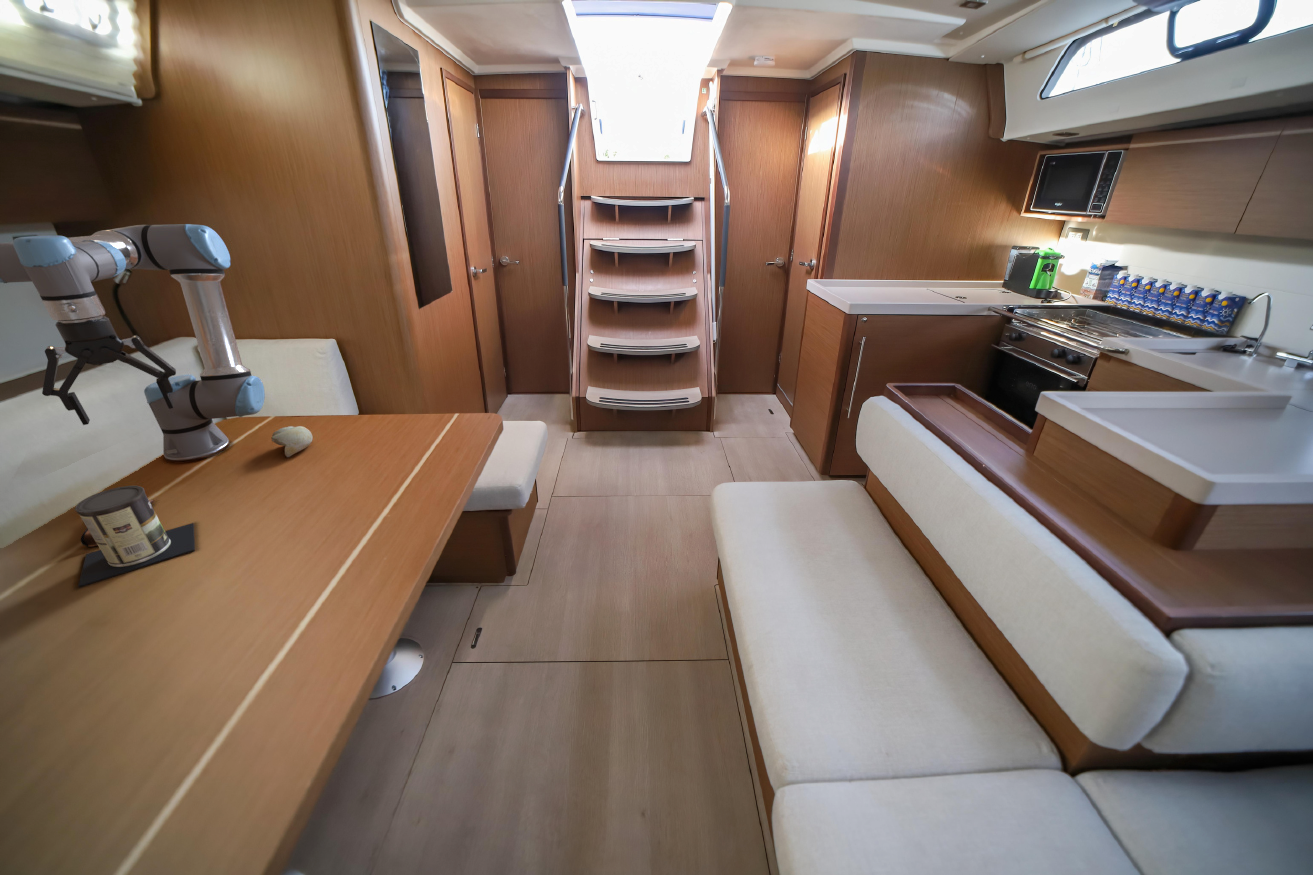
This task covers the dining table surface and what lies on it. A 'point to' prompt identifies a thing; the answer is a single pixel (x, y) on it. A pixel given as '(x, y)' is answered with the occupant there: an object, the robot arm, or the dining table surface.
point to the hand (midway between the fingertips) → (130, 414)
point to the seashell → (292, 439)
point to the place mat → (100, 569)
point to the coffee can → (124, 525)
